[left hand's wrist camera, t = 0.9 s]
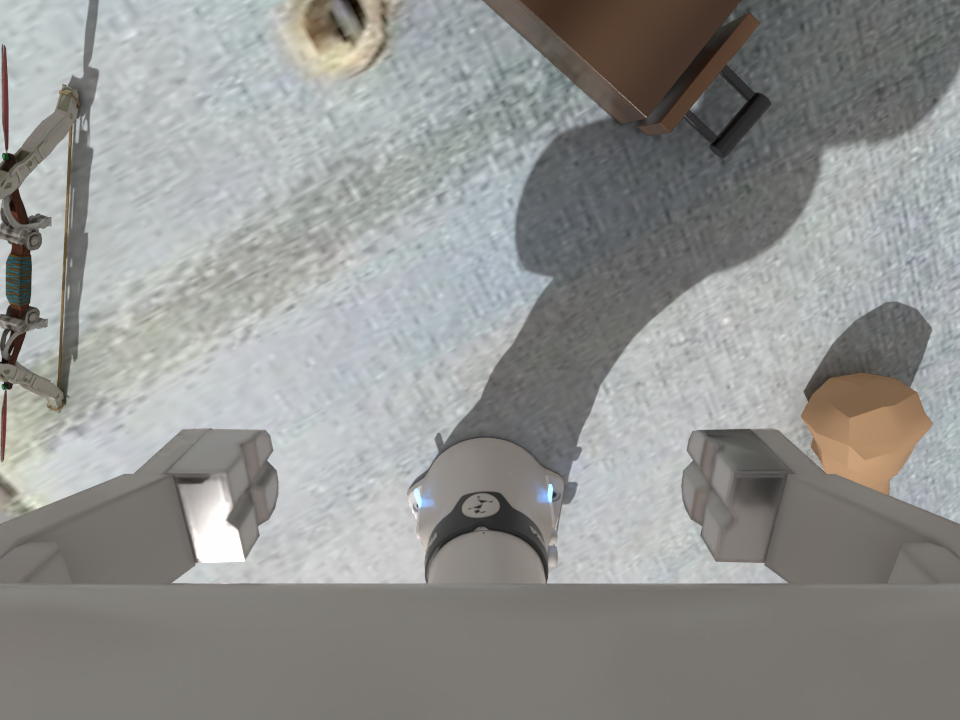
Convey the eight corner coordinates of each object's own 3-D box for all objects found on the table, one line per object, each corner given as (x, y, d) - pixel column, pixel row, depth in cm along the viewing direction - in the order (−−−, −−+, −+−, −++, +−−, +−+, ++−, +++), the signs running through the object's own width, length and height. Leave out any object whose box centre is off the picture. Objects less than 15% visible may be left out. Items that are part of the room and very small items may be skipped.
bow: (64, 57, 46) (-43, 31, 36) (85, 64, 46) (-15, 41, 37) (49, 423, 59) (-32, 472, 50) (65, 427, 59) (-12, 478, 50)
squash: (872, 342, 56) (959, 379, 48) (878, 473, 65) (951, 522, 57) (783, 386, 56) (855, 429, 48) (801, 511, 65) (863, 565, 57)
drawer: (768, 87, 46) (812, 77, 40) (692, 177, 49) (721, 180, 43) (569, -115, 41) (584, -162, 35) (495, -2, 44) (498, -27, 38)
